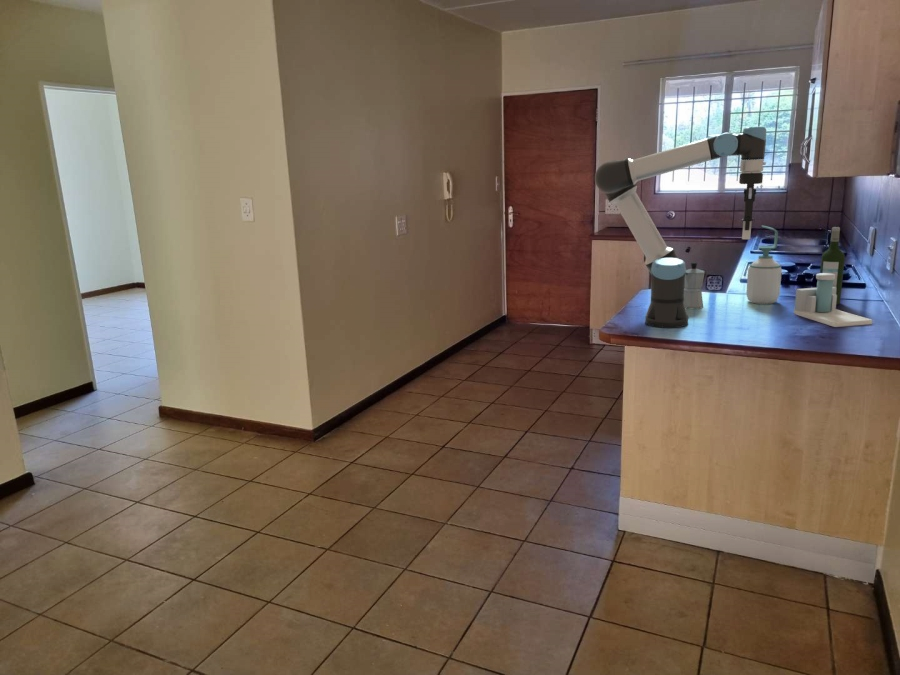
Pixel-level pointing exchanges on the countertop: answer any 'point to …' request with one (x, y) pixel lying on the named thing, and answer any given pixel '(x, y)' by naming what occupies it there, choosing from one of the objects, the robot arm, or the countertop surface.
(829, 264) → the wine bottle
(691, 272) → the coffee maker
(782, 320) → the countertop surface
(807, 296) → the mount
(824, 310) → the teal jar
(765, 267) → the soap bottle
